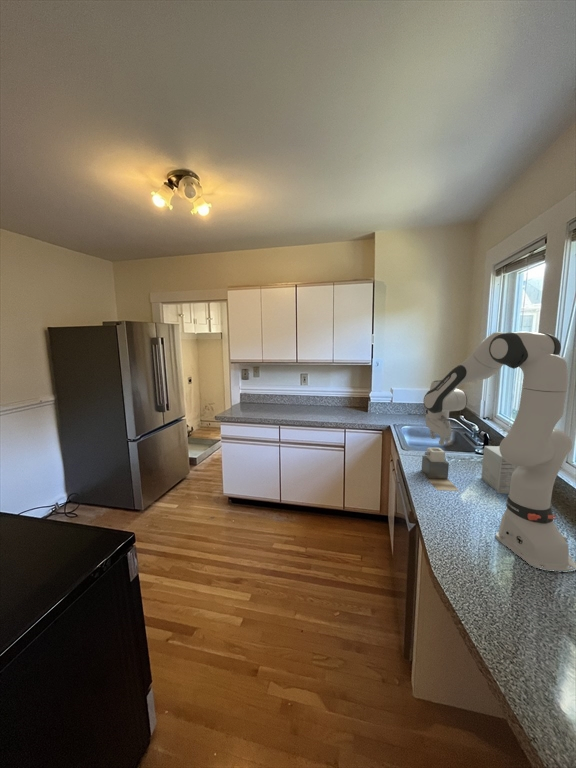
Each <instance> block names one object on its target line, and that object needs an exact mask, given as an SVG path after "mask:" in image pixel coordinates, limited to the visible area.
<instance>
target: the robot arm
mask: <svg viewBox="0 0 576 768" xmlns="http://www.w3.org/2000/svg"><path fill="white" fill-rule="evenodd" d="M561 349H562V344H561V342H560V340H559V338H557V337H556V336H555V335H552V334H550V333H545V332H530V331H517V332H516V331H515V332H503V331H502V332H501V331H495V332H493V333H490V334H489V335H487V337H486V338H484V339H483V340H482V341H481V342H480V343H479V344H478V345H477V347H476V348H475V349H474V351H472V353H471V354H470V355H469V356H468V357H467V358H465V360H464V361H462V362H461V363H460V364H458V365H456V366H455V367H454V368H453V369H451V371H449V373H447V374H446V375H445V376H444V377H443V379H441V380H434V381H432V382H431V384H430V387H429V390H428V391H427V392H426V394H425V395H424V398H423V405H424V407H425V410H424V412H425V426H426V427H427V428H428V429H429V432H430V439H433V440H434V439H437V438H436V434H437V435H438V436H439V440H438V444H439V445H440V446H444V445H445V441H446V439H450V438H451V436H452V425H451V422H450V420H449V418H450V412H457V411H462V410H464V409H465V408H466V407H467V405H468V396H467V394H466V392H464V391H463V390H462V389H458V387H460V386H463V385H465V384H468V383H473V382H477V381H483V380H487V379H488V378H490V377H492V376H493V375H495V374H496V373H498V371H500V370H501V368H502V367H503V366H506V367H509V368H511V369H517V368H520V369H521V371H522V373H523V376H522V377H523V378H522V384H521V392H520V400H519V405H518V410H517V414H516V416H515V419H514V421H513V423H512V425H511V427H510V430H509V431H508V433H507V435H506V436H504V438H503V439H502V440H501V441H500V443H499V446H500V447H499V449H500V453H501V456H502V457H503V459H504V460H505V461H506V462H508V463H509V464H511V465H514V466H518V467H517V468H516V470H515V471H514V472H513V473H512V476H511V482H510V491H509V494H507V497H506V500H505V502H506V509H505V511H504V513H502V517H501V520H500V525H499V528H498V531H497V532H496V533H495V536H494V538H495V539H496V540H497V541H498V542H500V543H501V544H502V543H503V545H504V546H505V547H506V546H507V547H508V548H507V547H506V548H507V549H509V550H510V549H511V550H512V551H513V552H514V553H513V554H515V555H516V554H517V555H518V556H520V557H521V558H522V559H523V560H525V561H526V562H527V563H528V564H530V565H531V566H533V567H537V568H542V569H546V570H554V571H569V570H573V569H575V568H576V562H575V561H574V559H573V558H572V557H571V556H570V551H569V546H568V543H567V542H568V540H567V537H566V536H565V535H563V534H562V533H561V532H560V531H559V529H558V527H557V525H556V524H555V522H554V520H555V519H556V517H557V515H555V514H553V510H552V506H551V504H552V494H553V488H554V485H555V483H556V482H555V481H556V479H557V477H558V474H559V472H560V470H561V468H562V465H563V464H564V461H565V459H566V457H567V456H568V455H569V454H570V452H571V451H572V449H573V442H572V439H571V437H570V436H569V435H568V434H567V433H566V432H564V431H563V430H561V429H559V428H558V429H557V428H555V427H556V426H557V424H558V422H559V421H560V420H561V419H562V417H563V415H564V411H565V404H566V397H567V390H568V383H569V382H568V373H569V372H568V365H567V362H566V359H565V358H563V357H562V356H560V353H561ZM511 550H510V551H511ZM512 551H511V552H512ZM517 555H516V556H517ZM518 556H517V557H518ZM520 557H519V558H520ZM521 558H520V559H521ZM522 559H521V560H522ZM523 560H522V561H523ZM525 561H524V562H525ZM526 562H525V563H526ZM527 563H526V564H527ZM528 564H527V565H528ZM530 565H529V566H530ZM531 566H530V567H531ZM542 566H543V567H542ZM568 566H570V567H572V568H570V567H568ZM533 567H532V568H533Z"/></svg>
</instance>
